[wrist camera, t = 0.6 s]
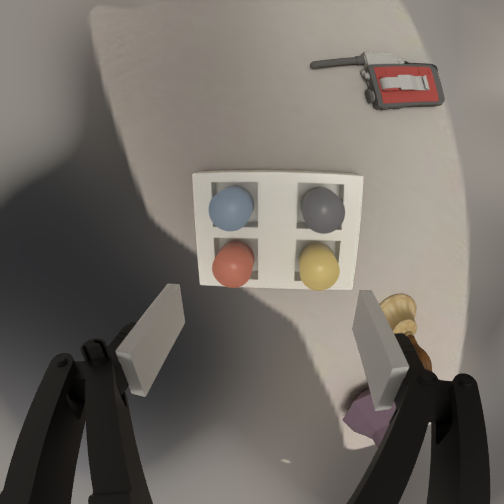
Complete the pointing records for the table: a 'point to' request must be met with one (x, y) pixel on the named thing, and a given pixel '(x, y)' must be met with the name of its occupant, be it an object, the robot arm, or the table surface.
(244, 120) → the table surface
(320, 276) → the button mustard
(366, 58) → the walkie-talkie
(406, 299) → the hand bell
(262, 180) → the console
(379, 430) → the flask
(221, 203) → the button slate
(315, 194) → the button charcoal
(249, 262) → the button brick
